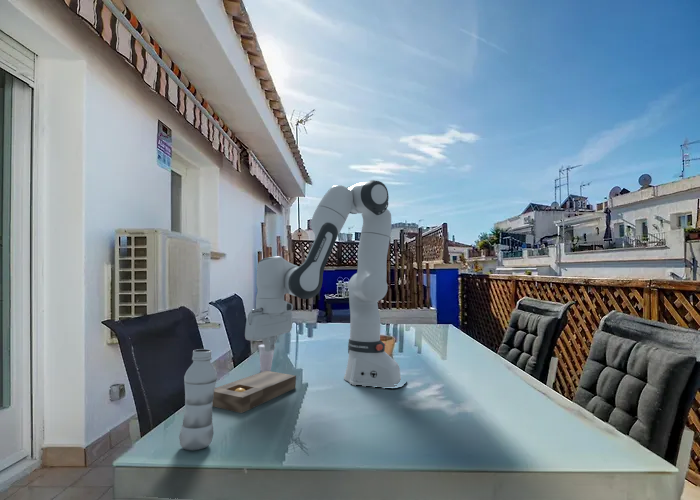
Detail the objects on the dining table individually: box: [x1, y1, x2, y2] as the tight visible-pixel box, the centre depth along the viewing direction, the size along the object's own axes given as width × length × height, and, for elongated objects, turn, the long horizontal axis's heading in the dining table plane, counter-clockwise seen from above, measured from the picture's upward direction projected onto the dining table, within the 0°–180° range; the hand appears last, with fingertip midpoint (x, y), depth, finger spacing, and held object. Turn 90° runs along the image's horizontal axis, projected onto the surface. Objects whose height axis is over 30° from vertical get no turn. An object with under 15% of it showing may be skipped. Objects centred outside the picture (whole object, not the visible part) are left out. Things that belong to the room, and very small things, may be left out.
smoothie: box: [257, 344, 275, 373], centre depth 143 cm, size 6×6×14 cm
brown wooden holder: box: [212, 370, 297, 414], centre depth 113 cm, size 12×26×4 cm, turn 155°
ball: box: [235, 388, 246, 392], centre depth 107 cm, size 4×4×4 cm
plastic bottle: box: [178, 348, 218, 451], centre depth 79 cm, size 6×7×20 cm
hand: (269, 350), depth 119 cm, fingers closed
